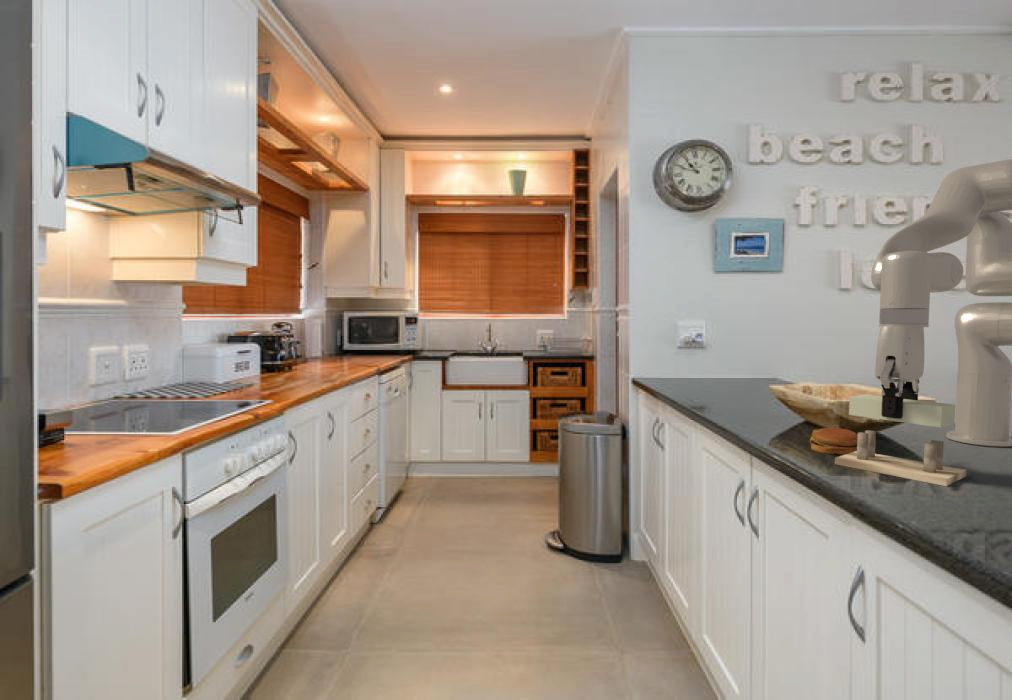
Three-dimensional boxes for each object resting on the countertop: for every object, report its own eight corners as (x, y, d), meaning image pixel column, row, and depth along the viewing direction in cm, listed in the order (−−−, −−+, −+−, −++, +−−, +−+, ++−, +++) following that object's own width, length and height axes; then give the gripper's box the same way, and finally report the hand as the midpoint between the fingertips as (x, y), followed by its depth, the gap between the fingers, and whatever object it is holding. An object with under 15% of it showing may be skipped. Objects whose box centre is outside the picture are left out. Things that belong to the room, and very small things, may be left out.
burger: (871, 456, 117) (871, 434, 117) (825, 457, 118) (826, 434, 117) (843, 445, 127) (843, 425, 127) (801, 446, 127) (801, 425, 127)
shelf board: (863, 411, 114) (864, 394, 114) (954, 424, 102) (955, 404, 101) (849, 414, 111) (849, 396, 110) (940, 427, 98) (941, 407, 98)
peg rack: (857, 456, 117) (858, 426, 117) (966, 476, 102) (967, 442, 102) (834, 463, 111) (835, 432, 111) (946, 486, 97) (947, 450, 96)
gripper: (899, 319, 113) (895, 408, 114) (860, 319, 103) (856, 417, 104) (945, 319, 107) (940, 414, 108) (908, 319, 97) (904, 423, 98)
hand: (899, 414), depth 106 cm, fingers closed on shelf board, 6 cm apart
